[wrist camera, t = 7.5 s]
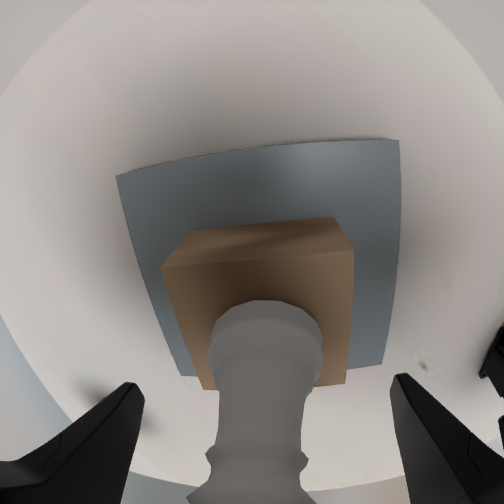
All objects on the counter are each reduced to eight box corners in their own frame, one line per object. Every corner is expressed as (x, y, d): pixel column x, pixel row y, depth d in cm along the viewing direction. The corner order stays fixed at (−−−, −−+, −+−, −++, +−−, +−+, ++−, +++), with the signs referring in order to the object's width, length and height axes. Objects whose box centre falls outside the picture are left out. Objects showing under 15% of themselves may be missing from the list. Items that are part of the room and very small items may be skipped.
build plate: (387, 138, 12) (398, 140, 11) (376, 349, 18) (381, 364, 17) (129, 171, 14) (115, 176, 13) (186, 361, 20) (181, 375, 18)
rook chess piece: (198, 300, 11) (116, 502, 3) (316, 282, 10) (351, 522, 3) (229, 377, 12) (196, 538, 5) (325, 366, 12) (341, 540, 4)
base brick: (333, 216, 13) (354, 250, 9) (334, 332, 16) (344, 383, 12) (190, 231, 14) (160, 267, 10) (217, 339, 17) (203, 389, 13)
